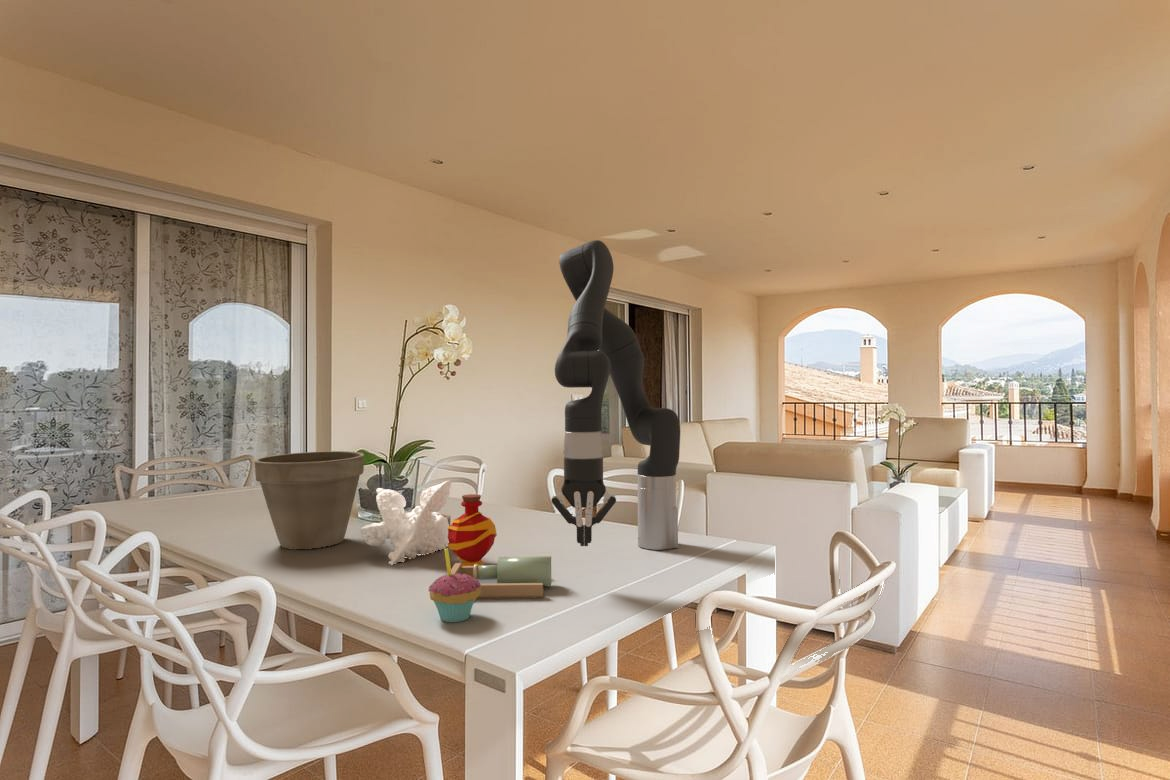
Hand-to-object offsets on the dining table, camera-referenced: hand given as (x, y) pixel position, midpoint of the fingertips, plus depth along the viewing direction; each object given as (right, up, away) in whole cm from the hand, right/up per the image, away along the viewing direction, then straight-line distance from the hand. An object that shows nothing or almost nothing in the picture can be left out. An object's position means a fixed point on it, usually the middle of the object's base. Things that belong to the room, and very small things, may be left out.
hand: (584, 545), depth 125 cm
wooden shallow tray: (-17, -8, -1) cm, 18 cm away
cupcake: (-21, -8, -17) cm, 28 cm away
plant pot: (-68, -8, +36) cm, 77 cm away
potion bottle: (-24, -8, +15) cm, 30 cm away
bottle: (-6, -5, 0) cm, 8 cm away
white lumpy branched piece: (-40, -8, +25) cm, 48 cm away
